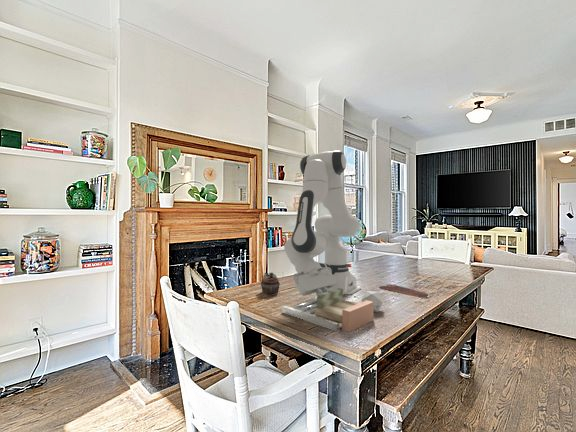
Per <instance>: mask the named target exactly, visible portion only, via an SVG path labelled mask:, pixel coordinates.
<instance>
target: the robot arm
mask: <svg viewBox="0 0 576 432" xmlns="http://www.w3.org/2000/svg"><path fill="white" fill-rule="evenodd" d="M346 167H347V159H346V156H345V153H344V152H343V151H341V150H333V151H329V150H328V151H321V152H318V153H314V154H311V155H309V154H308V155H306V156H305V155H304V156H303V157H302V158H301V160H300V163H299V168H300V172H301V174H302V175H303V179H302V189H301V190H302V191H301V195H300V197H299V202H298V208H297V215H296V222H295V226H294V229H293V232H292V235H291V237H290V238H288V239H287V240H286V242H285V243H284V245H283V247H284V248H283V249H284V252H285V254H286V257H287V258H288V261H289V262H290V264H292V265H293V266H294V268H295V272H296V273H294V274H293V276H292V279H293V281H294V283H295V286H296V288H297V290H298V292H299V294H300V296H308V295H310V294H313V293H315V294H316V296H317V295H318V294H321V293H325V292H328V291H331V290H335V289H338V288H340V289H343V295H353V294H354V293H356V292H358V291H360V290H362V286H360V285H358V283H357V277H356V276H355V275H354V274H353V273H352V272H351V271H350V270H349V268H350V269H351V268H352V263H347V262H348V261H347V260H348V257H347V256H348V249H347V247H346V246H345V245H344V244H343V243H342V242H341V239H340V238H351V237H354V236H355V237H356V235H357V234H358V232H359V230H360V223H359V220H358V218H357V217H356V216H354V215H353V214H352V212H351V211H350V210H349V208H348V206H347V203H346V200H345V195H344V194H345V193H344V187H343V181H342V176H341V175H342V173H343V172H345V170H346ZM321 203H322V205H323V207H324V208H326V209H327V210H328V211H329V214H324V215H319V216H318V217H317V218H316V219H315V221H314V229H315V230H314V229H313V226H312V225H313V214H314V209H315V206H316V205H319V204H321ZM323 252H324V263H323V262H319V261H315V259H314V258H315V257H317V256H319V255H321V254H322V253H323Z"/></svg>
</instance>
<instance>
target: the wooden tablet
mask: <svg viewBox="0 0 576 432" xmlns="http://www.w3.org/2000/svg"><path fill="white" fill-rule="evenodd" d="M378 288H379V289H382V290H386V291H390V292H394V293H400V294H403V295H408V296H413V297H418V298H422V297H427V296H428V294H429V293H427V292H424V291H419V290H416V289H412V288H409V287H404V286H400V285H396V284H389V283H388V284H385V285H381V286H379V287H378Z"/></svg>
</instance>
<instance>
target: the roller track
mask: <svg viewBox="0 0 576 432" xmlns="http://www.w3.org/2000/svg"><path fill="white" fill-rule="evenodd" d="M316 307H317V295H316V296H314V297H313V299H312V300H309V301H305V302H303V303H300V304H297V305H293V306H287V305H283V306H282V309H281V310H282V311H281V313H283V314H284V315H287V314H288V316H290V315H291V317H293V316H294V317H293V318H296V317H297V319H299V318H300V319H299V320H302V319H303V321H305V322H308V323H311V324H315V325H317V326H320V327H323V328H326V329H329V330H332V331H334V332H338V331H340V330H341V329H342V323H341V322H338V321H335V320H331V319H328V318H325V317H322V316H319V315H316V314H315V308H316Z"/></svg>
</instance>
